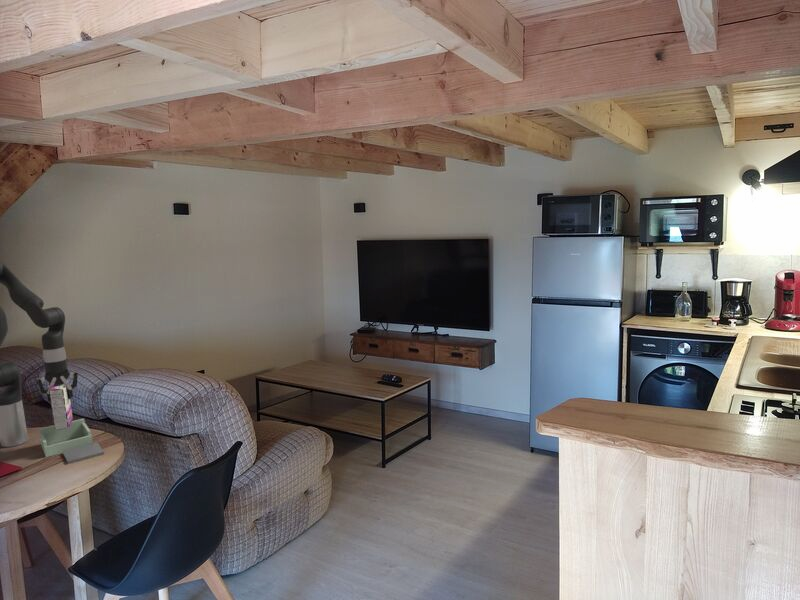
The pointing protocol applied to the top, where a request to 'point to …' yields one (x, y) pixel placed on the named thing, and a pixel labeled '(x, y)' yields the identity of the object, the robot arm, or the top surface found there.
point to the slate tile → (83, 453)
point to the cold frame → (64, 437)
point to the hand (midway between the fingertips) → (60, 400)
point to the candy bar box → (61, 406)
